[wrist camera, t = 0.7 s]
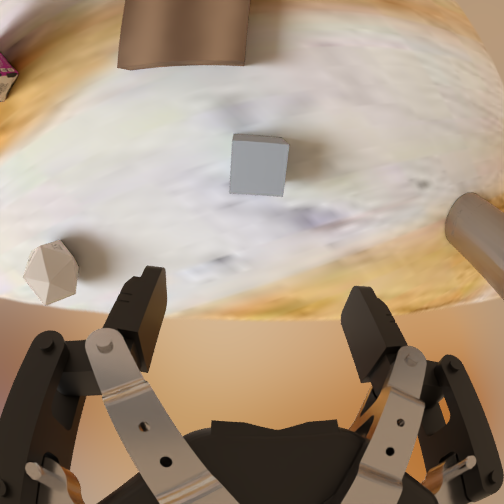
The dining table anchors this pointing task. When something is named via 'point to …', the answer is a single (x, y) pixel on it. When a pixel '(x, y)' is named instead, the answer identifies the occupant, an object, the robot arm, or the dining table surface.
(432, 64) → the dining table surface
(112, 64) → the dining table surface
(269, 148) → the slate cube
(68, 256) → the die
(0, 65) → the candy bar box
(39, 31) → the dining table surface
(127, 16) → the walnut block
